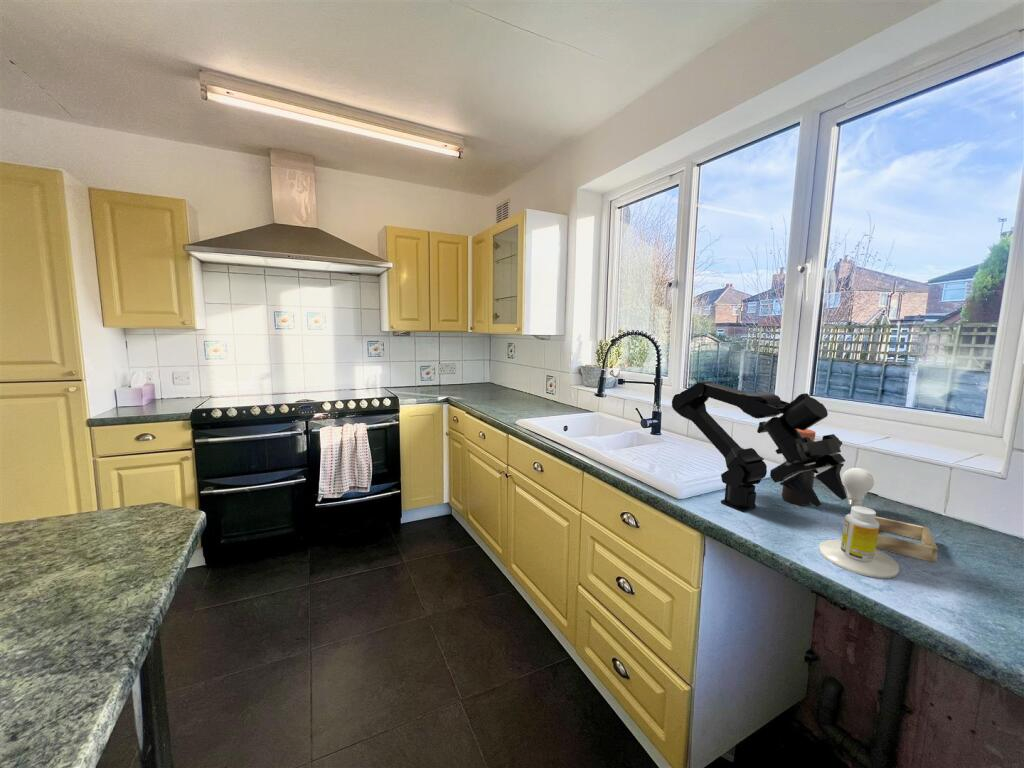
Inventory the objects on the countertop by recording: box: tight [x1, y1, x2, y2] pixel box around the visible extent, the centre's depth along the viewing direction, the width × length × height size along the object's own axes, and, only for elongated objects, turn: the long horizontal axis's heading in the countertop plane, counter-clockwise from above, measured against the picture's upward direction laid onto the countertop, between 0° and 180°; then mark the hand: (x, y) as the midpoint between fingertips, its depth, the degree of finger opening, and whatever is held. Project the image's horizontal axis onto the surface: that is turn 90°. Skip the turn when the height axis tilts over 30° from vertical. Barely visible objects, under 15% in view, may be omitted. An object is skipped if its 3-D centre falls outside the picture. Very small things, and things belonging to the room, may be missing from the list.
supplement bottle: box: [841, 505, 880, 562], centre depth 88 cm, size 6×6×10 cm
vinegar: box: [781, 428, 816, 506], centre depth 116 cm, size 7×7×20 cm
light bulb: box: [841, 467, 875, 508], centre depth 113 cm, size 7×7×11 cm
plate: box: [818, 539, 900, 579], centre depth 89 cm, size 13×13×1 cm
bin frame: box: [875, 515, 939, 564], centre depth 96 cm, size 12×12×3 cm
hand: (832, 502), depth 93 cm, fingers open, 9 cm apart
